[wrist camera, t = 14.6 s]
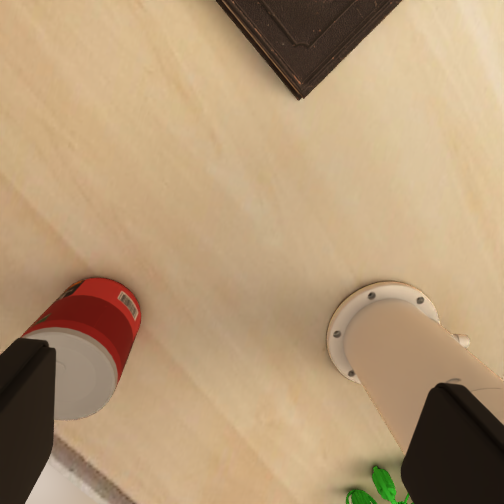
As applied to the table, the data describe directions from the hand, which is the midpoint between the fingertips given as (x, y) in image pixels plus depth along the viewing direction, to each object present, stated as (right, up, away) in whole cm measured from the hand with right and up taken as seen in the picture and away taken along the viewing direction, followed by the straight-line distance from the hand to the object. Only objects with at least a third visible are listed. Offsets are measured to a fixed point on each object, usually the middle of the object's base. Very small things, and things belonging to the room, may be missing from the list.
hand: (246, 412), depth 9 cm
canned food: (-15, -2, +28) cm, 32 cm away
